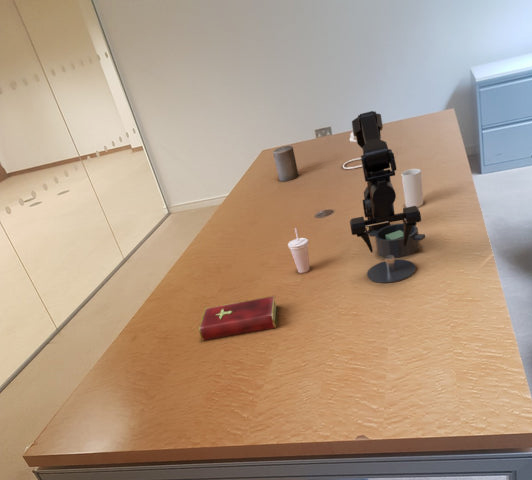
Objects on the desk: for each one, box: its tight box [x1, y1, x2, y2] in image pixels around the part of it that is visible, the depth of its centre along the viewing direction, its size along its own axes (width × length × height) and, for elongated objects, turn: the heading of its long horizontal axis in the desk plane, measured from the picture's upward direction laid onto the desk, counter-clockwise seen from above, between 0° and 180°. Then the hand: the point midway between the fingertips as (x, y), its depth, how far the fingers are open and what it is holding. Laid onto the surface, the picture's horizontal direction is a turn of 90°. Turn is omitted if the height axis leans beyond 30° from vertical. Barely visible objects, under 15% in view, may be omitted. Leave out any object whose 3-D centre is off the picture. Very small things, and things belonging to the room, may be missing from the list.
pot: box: [368, 222, 426, 259], centre depth 172 cm, size 13×18×6 cm
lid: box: [366, 255, 417, 284], centre depth 161 cm, size 14×14×5 cm
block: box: [385, 230, 403, 240], centre depth 173 cm, size 5×5×5 cm
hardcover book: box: [198, 294, 279, 341], centre depth 158 cm, size 12×21×4 cm, turn 87°
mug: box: [400, 168, 424, 208], centre depth 201 cm, size 10×7×12 cm, turn 161°
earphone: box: [342, 131, 363, 170], centre depth 260 cm, size 14×17×18 cm
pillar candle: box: [272, 145, 300, 182], centre depth 266 cm, size 10×10×15 cm
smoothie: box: [287, 227, 311, 274], centre depth 175 cm, size 6×6×14 cm
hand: (388, 248), depth 158 cm, fingers open, 9 cm apart
